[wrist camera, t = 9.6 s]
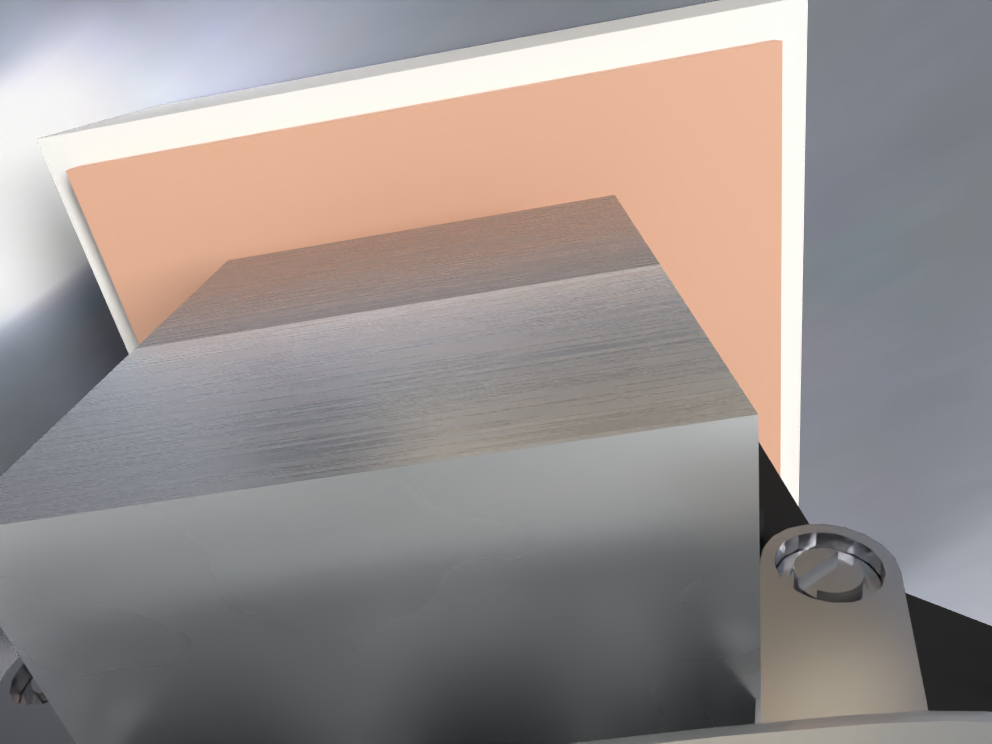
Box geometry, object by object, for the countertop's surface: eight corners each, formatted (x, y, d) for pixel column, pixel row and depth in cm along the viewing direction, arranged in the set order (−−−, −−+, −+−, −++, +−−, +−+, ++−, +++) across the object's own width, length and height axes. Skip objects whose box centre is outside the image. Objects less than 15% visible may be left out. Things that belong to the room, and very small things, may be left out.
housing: (228, 260, 10) (-213, 678, 4) (614, 194, 10) (838, 539, 3) (366, 659, 14) (256, 1223, 7) (655, 622, 13) (806, 1187, 7)
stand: (312, 542, 21) (262, 687, 16) (157, 105, 16) (20, 143, 11) (734, 483, 20) (803, 619, 16) (719, 0, 15) (818, -5, 10)
